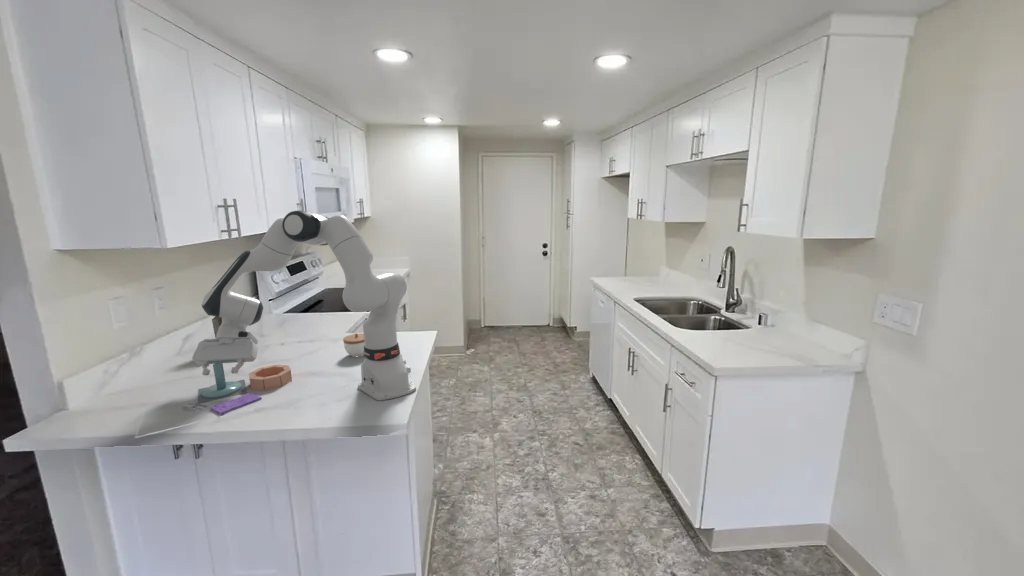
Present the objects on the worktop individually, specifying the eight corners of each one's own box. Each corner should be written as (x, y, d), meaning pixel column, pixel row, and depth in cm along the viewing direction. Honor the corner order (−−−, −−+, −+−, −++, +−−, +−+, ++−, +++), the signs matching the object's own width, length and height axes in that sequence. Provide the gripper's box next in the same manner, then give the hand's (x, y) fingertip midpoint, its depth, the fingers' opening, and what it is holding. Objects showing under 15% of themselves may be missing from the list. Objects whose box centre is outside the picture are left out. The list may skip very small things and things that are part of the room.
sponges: (211, 412, 139) (210, 406, 138) (251, 396, 149) (251, 391, 148) (221, 417, 135) (220, 412, 134) (262, 401, 145) (261, 396, 145)
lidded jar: (363, 359, 180) (360, 338, 178) (339, 358, 182) (337, 337, 180) (376, 350, 190) (374, 330, 188) (353, 349, 192) (351, 329, 190)
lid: (242, 392, 150) (238, 365, 148) (201, 401, 144) (196, 373, 142) (240, 381, 160) (236, 355, 158) (202, 389, 153) (197, 362, 151)
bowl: (293, 384, 157) (292, 373, 156) (252, 394, 150) (250, 382, 149) (288, 373, 167) (287, 362, 166) (249, 381, 160) (247, 370, 159)
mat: (246, 394, 150) (246, 392, 150) (197, 405, 142) (197, 404, 142) (244, 380, 161) (244, 379, 161) (198, 390, 154) (198, 389, 154)
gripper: (195, 335, 155) (182, 372, 147) (255, 332, 157) (246, 368, 149) (204, 343, 160) (193, 379, 153) (262, 340, 162) (254, 375, 155)
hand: (219, 373), depth 151 cm, fingers open, 8 cm apart
